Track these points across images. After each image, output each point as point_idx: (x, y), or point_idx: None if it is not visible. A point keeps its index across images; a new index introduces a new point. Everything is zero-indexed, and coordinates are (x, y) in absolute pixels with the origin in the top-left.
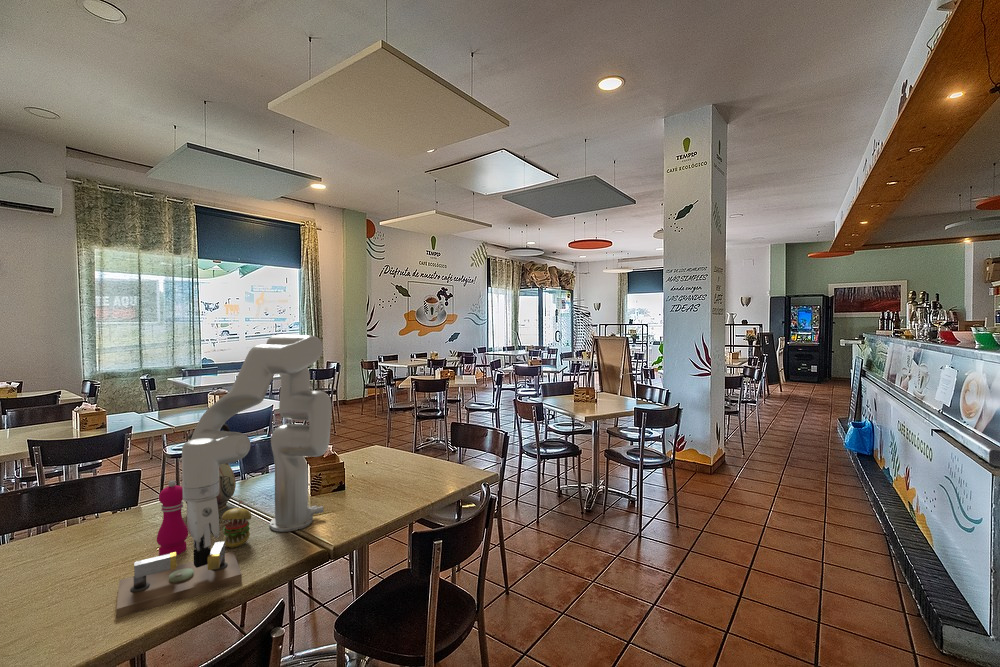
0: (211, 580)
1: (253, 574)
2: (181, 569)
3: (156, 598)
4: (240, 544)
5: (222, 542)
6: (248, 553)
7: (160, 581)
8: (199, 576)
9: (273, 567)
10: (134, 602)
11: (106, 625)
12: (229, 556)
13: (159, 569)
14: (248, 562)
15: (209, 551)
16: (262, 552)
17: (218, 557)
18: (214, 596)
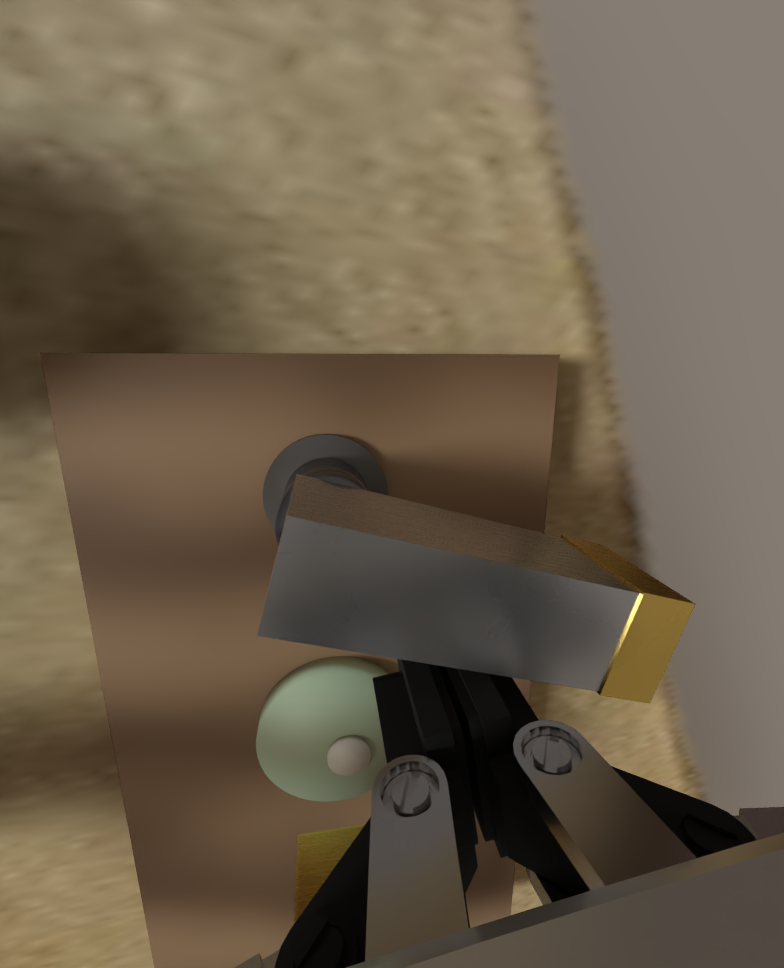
0: None
1: (470, 258)
2: (261, 744)
3: None
4: None
5: (315, 547)
6: (23, 210)
7: (325, 818)
8: None
9: (454, 74)
10: (497, 886)
11: (525, 903)
12: (153, 400)
13: None
14: (231, 250)
15: (494, 687)
16: (67, 73)
17: (680, 595)
18: (591, 520)
